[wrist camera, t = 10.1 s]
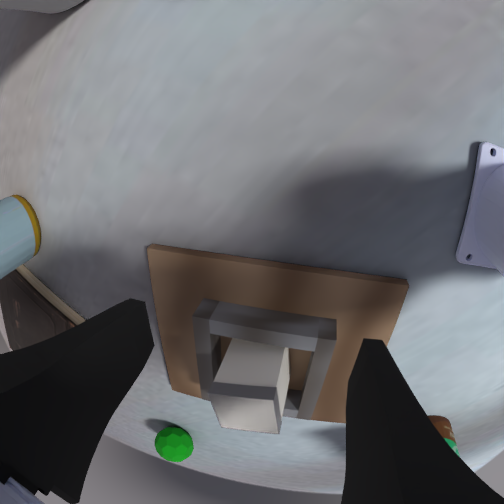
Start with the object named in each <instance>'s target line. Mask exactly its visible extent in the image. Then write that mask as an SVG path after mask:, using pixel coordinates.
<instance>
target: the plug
mask: <svg viewBox="0 0 504 504" xmlns="http://www.w3.org/2000/svg"><path fill="white" fill-rule="evenodd" d="M290 374H291V367H290V356H289V348H286V347H280V346H274V345H268V344H262V343H257V342H251V341H246V340H240V339H235V338H232V340H231V343H230V345H229V347H228V349H227V352H226V354H225V356H224V359H223V361H222V363H221V366H220V368H219V370H218V372H217V375H216V377H215V379H214V381H212V383H211V386H210V388H209V390H208V392H207V394H208V396H209V399H210V401H211V404H212V406H213V409H214V411H215V413H216V416H217V418H218V420H219V423H220V425H221V427H222V428H229V429H236V430H243V431H252V432H261V433H272V434H279V433H280V428H281V424H282V421H281V420H282V415H283V410H284V405H285V400H286V395H287V390H288V385H289V380H290Z"/></svg>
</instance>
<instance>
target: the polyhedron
mask: <svg viewBox="0 0 504 504" xmlns="http://www.w3.org/2000/svg"><path fill="white" fill-rule="evenodd" d="M155 447H156V450H157V452H158V453H159V454H160V456H161V457H163V458H164V459H166V460H168V461H172V462H181V461H183V460H184V459H186V458H188V457H189V456H190V455H191V454H192V451H193V449H194V448H193V441H192V438H191V436H190V435H189V434H188V433H187V432H185V431H184V430H183V429H182V428H175V427H167V428H165V429H163V430H162V431H160V432H159V433H158V434H157V436H156V438H155Z"/></svg>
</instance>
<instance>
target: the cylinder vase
mask: <svg viewBox="0 0 504 504" xmlns="http://www.w3.org/2000/svg"><path fill="white" fill-rule="evenodd" d="M83 1H84V0H0V9H12V10H23V11H32V12H40V13H47V14H54V13H59V12H63V11H66V10H68V9H70V8H72V7H74V6H76V5H78V4H79V3H81V2H83Z"/></svg>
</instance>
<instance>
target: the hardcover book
mask: <svg viewBox="0 0 504 504" xmlns="http://www.w3.org/2000/svg"><path fill="white" fill-rule="evenodd" d="M0 303H1V308H2V314H3V319H4V324H5V328H6V333H7V337H8V341H9V345H10V348H11V349H12V350H13V351H14V350H18V349H22V348H25V347H28V346H31V345H33V344H36V343H39V342H42V341H44V340H46V339H49V338H51V337H54V336H56V335H58V334H60V333H62V332H64V331H66V330H68V329H70V328H72V327H75V326H77V325H79V324H81V323H83V322H85V321H86V320H85V319H84V318H82V317H81V316H80V315H79V314H78V313H76V312H75V311H74V310H73V309H71V308H70V307H69V306H68V305H67V304H66V303H64V302H63V301H62V300H61V299H60V298H59V297H57V296H56V295H55V294H54V293H53V292H52V291H51V290H49V289H48V288H47V287H46V286H45V285H44V284H43V283H42V282H41V281H40V280H39V279H38V278H36V277H35V276H34V275H33V274H32V273H31V272H30V271H29V270H28V269H27V268H26V267H25V266H24V265H23V264H22V265H20V266H19V267H17V268H16V269H15V270H13V271H12V272H10V273H9V274H7V275H6V276H4V277H3V278H2V279H0Z"/></svg>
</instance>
